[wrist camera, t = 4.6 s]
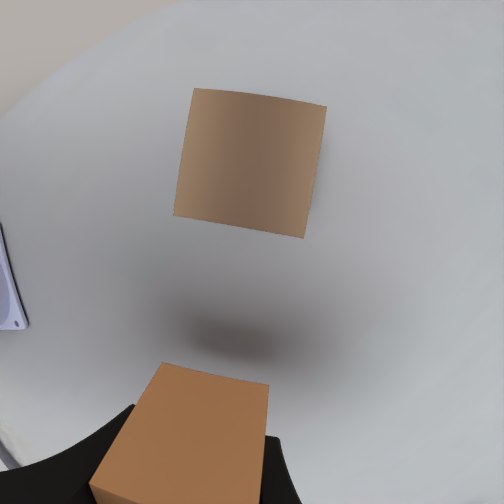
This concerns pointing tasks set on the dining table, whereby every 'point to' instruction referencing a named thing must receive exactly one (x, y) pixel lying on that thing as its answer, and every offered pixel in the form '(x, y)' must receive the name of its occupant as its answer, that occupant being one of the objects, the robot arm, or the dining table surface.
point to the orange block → (188, 443)
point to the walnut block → (249, 161)
